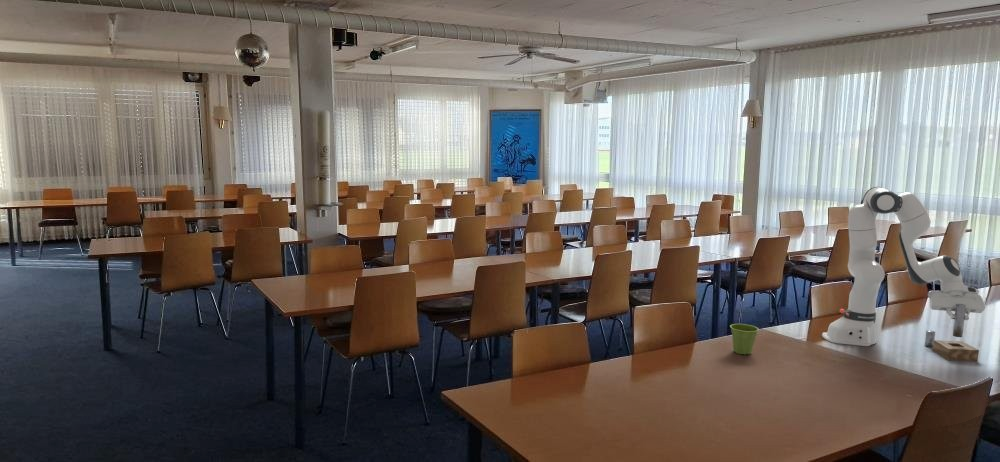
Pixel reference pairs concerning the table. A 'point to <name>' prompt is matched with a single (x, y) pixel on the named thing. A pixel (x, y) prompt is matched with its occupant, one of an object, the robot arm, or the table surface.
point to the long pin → (959, 320)
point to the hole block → (955, 350)
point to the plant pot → (743, 337)
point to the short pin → (929, 338)
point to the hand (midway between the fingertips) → (960, 319)
